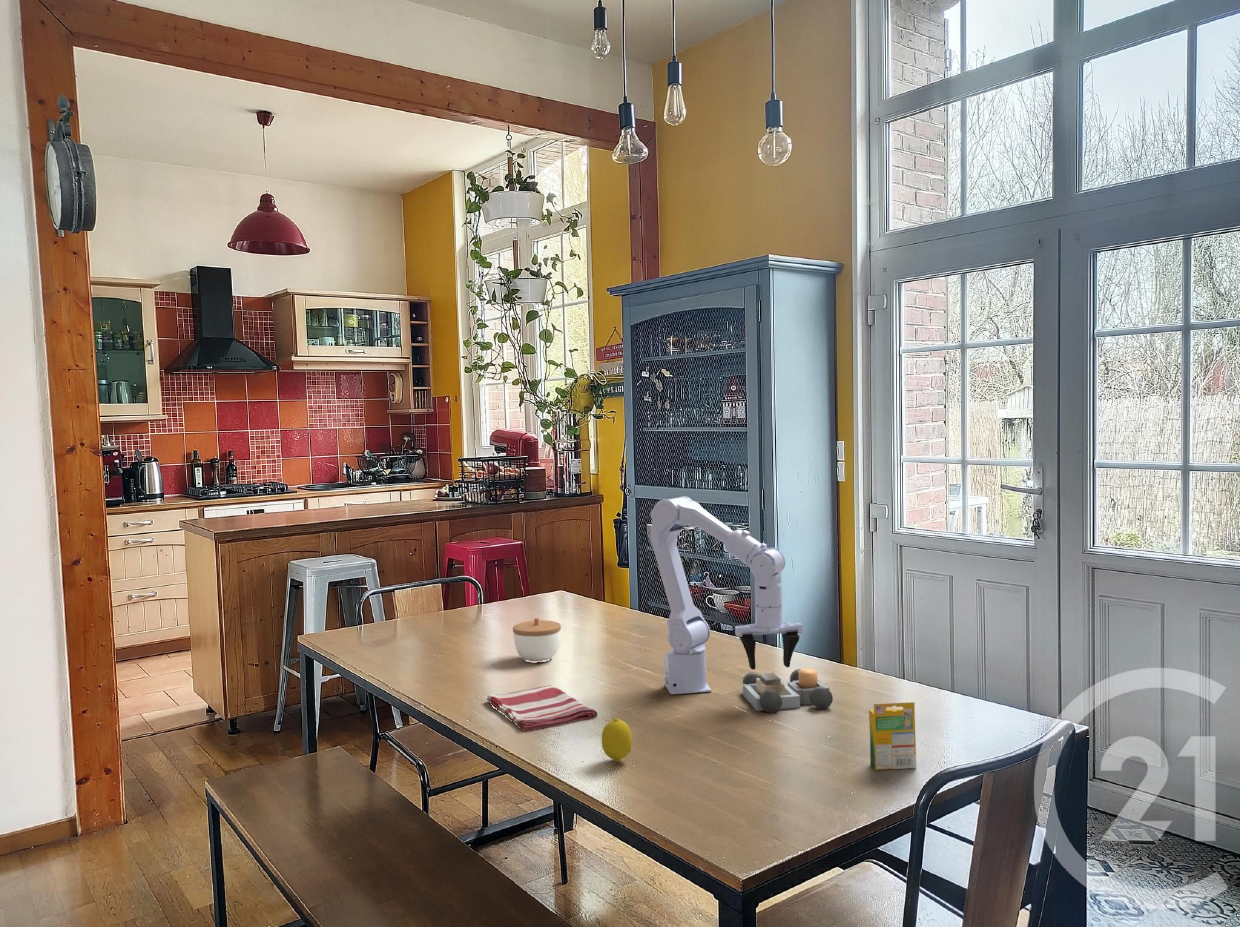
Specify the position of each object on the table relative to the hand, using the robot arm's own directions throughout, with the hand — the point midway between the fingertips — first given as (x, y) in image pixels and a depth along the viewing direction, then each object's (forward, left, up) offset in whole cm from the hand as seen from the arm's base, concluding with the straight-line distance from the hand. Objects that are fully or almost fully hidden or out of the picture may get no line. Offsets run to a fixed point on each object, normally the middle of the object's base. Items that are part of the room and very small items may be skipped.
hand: (769, 667), depth 189 cm
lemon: (-37, -27, -8) cm, 46 cm away
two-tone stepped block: (0, 0, -8) cm, 8 cm away
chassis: (+3, 0, -8) cm, 8 cm away
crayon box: (+10, -39, -8) cm, 41 cm away
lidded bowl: (-49, +47, -8) cm, 68 cm away
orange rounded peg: (+9, 0, -5) cm, 10 cm away
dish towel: (-50, +6, -8) cm, 51 cm away
